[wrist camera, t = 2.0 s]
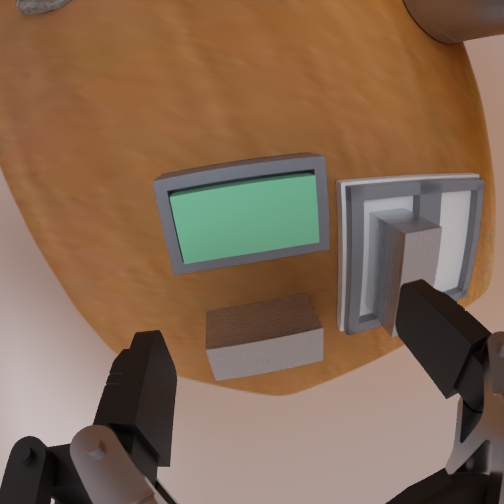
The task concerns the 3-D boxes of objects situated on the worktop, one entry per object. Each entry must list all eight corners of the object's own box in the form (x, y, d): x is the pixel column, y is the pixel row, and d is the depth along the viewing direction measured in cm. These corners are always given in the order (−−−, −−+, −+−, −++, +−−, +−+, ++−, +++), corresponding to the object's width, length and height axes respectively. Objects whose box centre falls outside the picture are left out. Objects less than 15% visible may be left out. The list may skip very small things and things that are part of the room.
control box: (162, 174, 23) (152, 181, 19) (308, 152, 23) (324, 155, 20) (180, 255, 26) (174, 275, 22) (314, 233, 26) (330, 249, 22)
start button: (172, 192, 20) (169, 197, 19) (308, 172, 20) (315, 175, 19) (186, 256, 22) (184, 264, 21) (313, 235, 22) (319, 242, 21)
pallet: (335, 180, 24) (346, 185, 22) (472, 172, 25) (486, 176, 23) (336, 325, 31) (344, 338, 29) (457, 289, 32) (467, 298, 30)
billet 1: (206, 310, 28) (205, 350, 23) (304, 292, 29) (323, 327, 23) (215, 340, 30) (216, 380, 24) (306, 323, 30) (323, 360, 25)
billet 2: (369, 212, 25) (405, 234, 19) (403, 207, 25) (442, 227, 19) (365, 303, 29) (391, 337, 23) (396, 295, 29) (424, 326, 23)
